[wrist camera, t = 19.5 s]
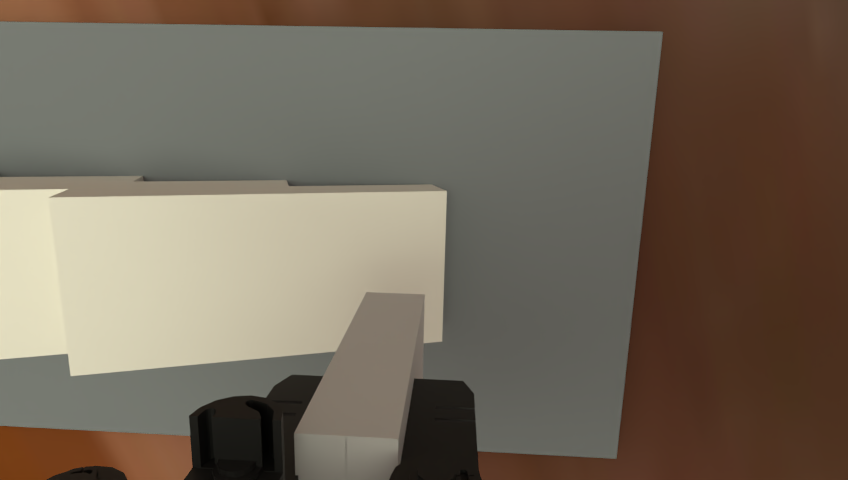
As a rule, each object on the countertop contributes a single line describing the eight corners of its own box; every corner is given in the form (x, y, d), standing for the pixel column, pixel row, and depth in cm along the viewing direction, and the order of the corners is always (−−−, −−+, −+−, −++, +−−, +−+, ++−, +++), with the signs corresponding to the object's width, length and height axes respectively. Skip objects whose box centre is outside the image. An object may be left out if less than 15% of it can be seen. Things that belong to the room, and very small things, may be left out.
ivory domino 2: (442, 341, 22) (70, 376, 19) (427, 323, 24) (87, 351, 21) (447, 190, 21) (48, 197, 17) (431, 184, 23) (68, 188, 19)
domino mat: (612, 450, 26) (616, 458, 25) (-174, 409, 28) (-188, 415, 27) (657, 33, 22) (662, 31, 21) (-264, 19, 24) (-282, 17, 23)
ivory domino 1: (293, 334, 23) (-100, 367, 19) (290, 317, 25) (-68, 344, 21) (289, 186, 21) (-134, 191, 18) (286, 180, 23) (-97, 183, 20)
